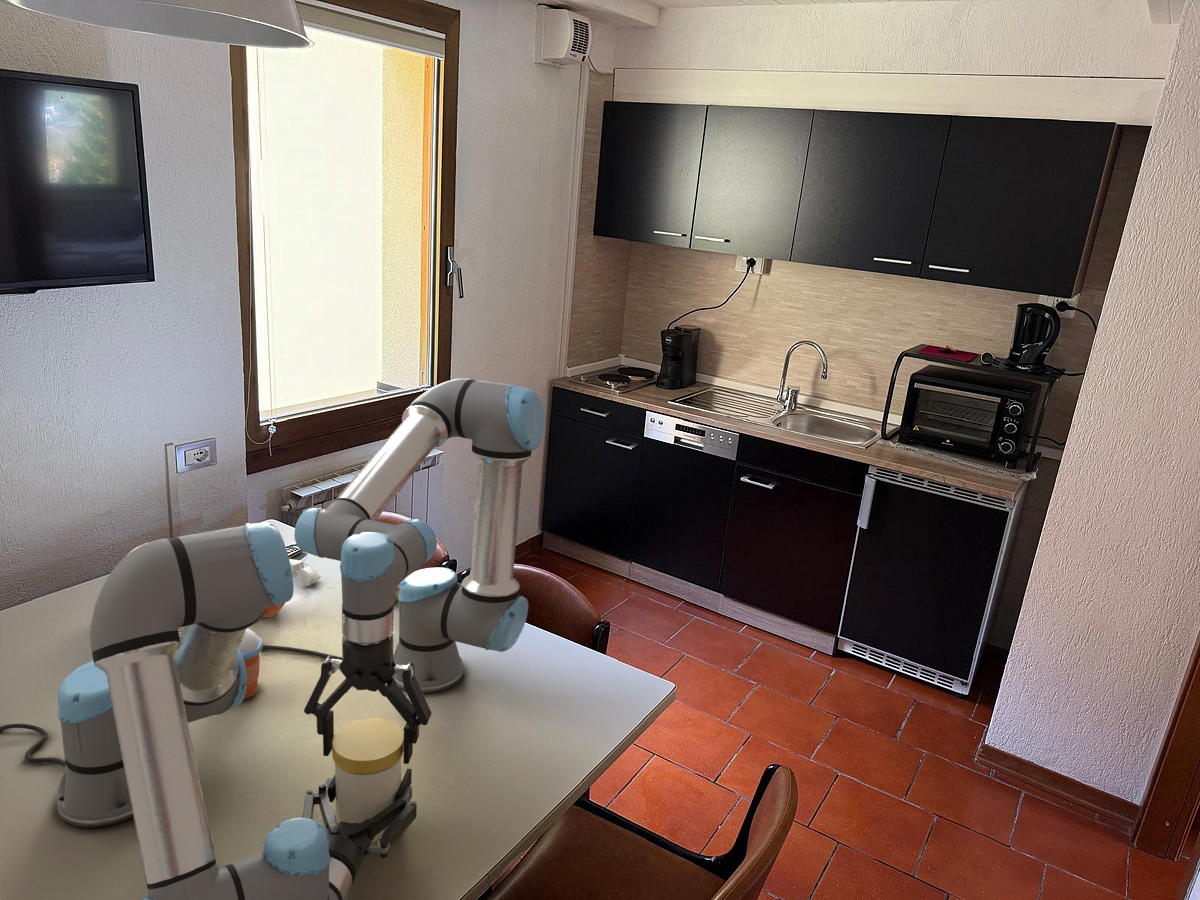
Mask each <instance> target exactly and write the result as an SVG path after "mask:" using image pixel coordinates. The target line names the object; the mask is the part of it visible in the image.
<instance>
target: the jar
mask: <svg viewBox="0 0 1200 900" xmlns="http://www.w3.org/2000/svg"><path fill="white" fill-rule="evenodd" d="M334 775H335V818H336V821H337V823H339V822H340V821H344V822H347V823H361V822H363V821H364V820H366V819H367V818H368V819H371V818H372V817H374V816H375V815H377V814H378V813H380V812H381V811H382V810H384V809H385V808H387V807H388V806H389V805H391V804H392V803H394V802H395V801H396V794H397V791H398V789H399V787H400V784H401V782H402V757H401V758H400V759H399V760H398V761H397V762H396V763H395V764H394V765H392V766H391V767H389V768H387V769H384V770H382V771H378V772H374V773H366V774H359V773H352V772H348V771H345V770H343V769H341V768H340V767H339V766H337V765H336V763H335V762H334ZM385 830H386V828H385V829H384V830H383V831H381V832H380V833H379V834H377V835H376V836H375V837H374V839H373V841H371V842H375V841H376V840H377V839H378V836H379V835H382V834H383V832H384V831H385Z"/></svg>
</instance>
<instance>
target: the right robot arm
mask: <svg viewBox="0 0 1200 900" xmlns="http://www.w3.org/2000/svg"><path fill="white" fill-rule="evenodd" d="M544 407H545V406H544V404H543V401H542V399H541V397H540V395H539V394H538V393H537V392H536V391H535V390H533V389H531V388H527V387H523V386H519V385H517V384H510V383H502V382H496V381H495V382H494V381H486V380H480V379H474V378H468V377H460V378H455V379H450V380H447V381H444V382H441V383H439V384H437V385H435V386H433V387H431V388H430V389H428V390H426V391H424V392H423V393H422V394H420V395H419V396H417V397H416V398H415V399H414V400H413V401H412V402H411V403H410V404H409V405H408V407H407V408H406V409H405V410H404V411H403V413H402V416H401V423H400V424H399V425H398V426H397V427H396V429H395V430H394V431H393V432H392V433H391V434H390V436H388V438H386V440H385V441H384V442H383V444H382V445H381V446H379V448H378V449H377V451H376V452H375V453H374V454H373V455H372V456H371V457H370V458H369V460H368V461H367V462H366V463H365V464H364V466H363V467H362V468H361V469H360V470H359V471H358V472H357V473H356V475H355V476H354V477H353V478H352V479H351V481H350V482H349V483H348V484H347V485H346V486H345V487H344V489H343V490H342V491H341V492H339V494H338V496H337V497H335V499H334V500H333V501H332V502H331V503H330V504H329V505H328V507H326V508H325V509H324V508H322V507H310V508H308V509H305V510H304V511H303V512H302V513H301V514H300V516H299V517H298V518H297V521H296V524H295V526H294V532H293V533H294V541H295V545H296V547H297V548H298V549H299V550H300V551H301V552H303V553H306V554H309V555H313V556H315V557H318V558H321V559H330V560H333V561H339V562H340V564H339V570H340V576H341V577H340V578H341V602H342V603H341V634H342V638H341V645H342V646H341V650H342V651H341V652H342V653H341V655H342V656H338V655H333V654H329V653H325V652H324V653H323V652H320V651H315V650H310V649H303V648H299V647H290V646H283V645H282V646H281V645H271V644H263V648H262V650H267V651H269V650H270V651H281V652H290V653H297V654H304V655H307V656H314V657H318V658H322V659H324V661H323V662H322V663H321V665H320V666H321V667H320V676H319V678H318V680H317V682H316V684H315V686H314V688H313V691H312V692H311V694H310V697H309V699H308V701H307V703H306V704H305V707H304V709H303V713H304V714H306V715H313V716H315V718H316V732H317V735H320V736H322V747H323V748H322V751H323V752H322V755H323V757H329V755H330V754H331V753H332V740H333V737H334V735H335V730H334V729H335V724H334V723H335V721H334V720H335V719H334V710H331V709H333V707H335V705H336V704H337V703H338V702H339V701H340V700H341V699H342V698H343V697H344V696H345V694H347V693H348V692H349V691H350V689H352V688H355V690H356V691H368V692H373V693H374V692H376V693H377V691H378V692H379V693H380V694H381V696H382V697H384V698H386V699H387V700H388V701H389V703H390V704H391V705H392V707H393V708H394V709H395V710H396V711H397V713H398V714H399V715H400V716H401V717H402V719H403V720H404V721H405V725H404V727H403V733H404V751H403V764H405V765H409V763H410V762H411V759H412V756H413V753H414V745H415V744H417V742H418V740H419V737H420V726H421V725H422V726H427V725H428V724H429V722H430V719H431V717H432V714H433V713H432V710H431V708H430V706H429V703H428V701H427V699H426V696H425V695H424V694H430V693H431V694H432V693H438V692H441V691H445V690H447V689H450V688H451V687H453V686H455V685H456V684H457V683H458V682H459V681H460V680H461V679H462V676H463V672H464V664H463V660H462V657H461V656H460V653H459V649H458V646H457V643H461V644H465V645H469V646H472V647H477V648H479V649H484V650H485V651H495V652H500V653H503V652H507V651H509V650H510V649H511V648H513V647H514V645H515V644H516V643H517V641H518V640H519V637H520V635H521V633H522V631H523V629H524V627H525V624H526V621H527V617H528V612H529V601H528V599H527V598H526V597H524V596H523V595H520V587H521V585H520V582H519V581H518V580H517V579H516V578H515V577H514V570H515V558H516V545H517V534H518V524H519V523H518V521H519V512H520V511H519V510H520V500H521V488H522V487H521V486H522V475H523V466H524V465H523V464H524V463H525V462H527V461H528V460H529V459H530V458H531V457H532V452H533V451H535V450H537V449H538V448H539V447H540V446H541V444H542V441H543V435H544V434H545V429H546V415H545V408H544ZM450 438H462V439H467V440H471V453H472V454H473V455H474V457H475V458H476V459H477V460H478V463H477V464H478V465H477V467H478V468H477V476H476V477H477V478H476V490H475V491H476V492H475V503H474V519H473V531H472V533H473V534H472V546H471V560H470V572H469V574H468V575H467V576H466V577H464V579H462V581H461V582H458V580H459V579H458V575H457V573H456V572H455V571H454V570H453V569H450V568H448V567H427V568H423V567H424V566H425V565H426V563H428V561H429V560H430V559H431V558H433V556H434V555H435V553H436V551H437V546H438V541H437V536H436V534H435V531H434V529H433V528H432V527H431V525H429V524H428V523H427V522H426V521H423V520H422V519H419V518H410V519H408V520H405V521H402V522H400V523H398V524H393V523H389V522H383V521H380V520H379V521H378V518H379V517H380V516H381V515H382V514H383V512H384V511H385V510H386V508H388V506H389V505H390V504H391V502H392V501H393V500H394V499H395V497H396V496H397V495H398V494H399V492H400V491H401V490H402V488H403V487H404V486H405V485H406V483H407V482H408V481H409V480H410V478H412V476H413V475H414V473H416V471H417V470H418V468H419V467H420V466H421V464H422V463H423V462H424V461H425V460H426V458H428V456H429V455H430V453H431V452H432V451H433V450H434V448H439V447H442V446H443V445H444V444H445V443H446V442H447V441H448V439H450ZM401 581H402V582H401ZM400 582H401V584H400V586H399V587H400V592H399V598H398V600H397V601H398V643H397V645H396V648H395V651H394V633H393V632H394V614H395V613H394V610H395V609H394V607H395V606H394V603H393V599H394V587H395V586H396V585H397V584H399V583H400ZM338 670H339V671H340V672H341V673H342V675H343V676H344V680H342V682H341V683H340V684H339V685H338V686H337V687H336V688H335V689H334V690H333V692H332V693H331V694H330V695H329V696H328V697H327V698H325V700H324V701H323V702H322V703H320V702H319V701H320V699H321V696H322V695H323V692H324V691H325V689H326V686H327V685H328V682H329V681H330V679H331V677H332V675H334V674H335V673H336V672H337V671H338ZM402 690H404V691H405V693H406V694H405V693H404V692H403V691H402ZM406 695H407V696H406Z"/></svg>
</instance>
